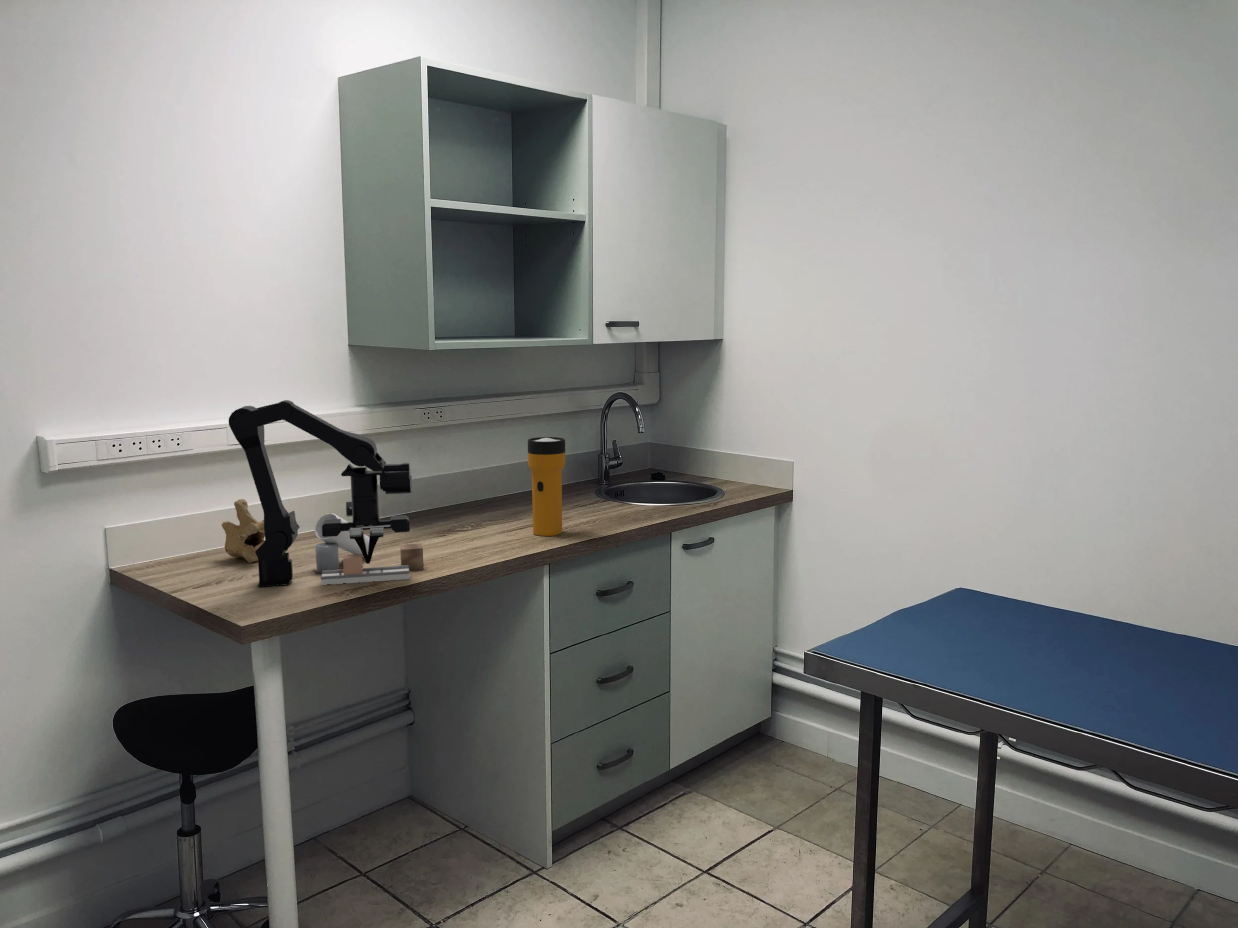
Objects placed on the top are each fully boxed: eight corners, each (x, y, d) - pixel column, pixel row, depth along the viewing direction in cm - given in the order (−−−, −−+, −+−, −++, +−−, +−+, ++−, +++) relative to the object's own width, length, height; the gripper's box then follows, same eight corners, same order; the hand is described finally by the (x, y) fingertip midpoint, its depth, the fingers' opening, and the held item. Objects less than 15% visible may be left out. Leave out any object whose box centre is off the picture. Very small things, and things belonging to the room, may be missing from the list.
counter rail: (321, 585, 213) (320, 577, 213) (322, 578, 219) (322, 570, 218) (409, 578, 218) (409, 571, 218) (408, 572, 223) (408, 564, 223)
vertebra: (252, 551, 243) (248, 492, 241) (280, 561, 234) (276, 500, 232) (218, 558, 237) (213, 497, 235) (245, 568, 228) (241, 505, 225)
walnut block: (401, 570, 225) (400, 549, 225) (401, 565, 230) (400, 544, 230) (423, 569, 227) (422, 548, 226) (422, 563, 231) (421, 543, 231)
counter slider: (344, 576, 215) (343, 558, 214) (344, 572, 219) (343, 554, 218) (362, 575, 216) (361, 557, 215) (362, 570, 220) (361, 553, 219)
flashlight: (571, 436, 261) (553, 441, 252) (573, 531, 265) (555, 538, 256) (539, 434, 265) (520, 439, 256) (541, 527, 269) (522, 535, 260)
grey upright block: (316, 573, 223) (314, 548, 222) (317, 568, 227) (316, 543, 227) (338, 572, 224) (337, 546, 223) (339, 566, 229) (338, 541, 228)
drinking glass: (376, 554, 236) (339, 534, 223) (352, 563, 238) (314, 543, 225) (374, 530, 239) (337, 508, 226) (351, 538, 241) (313, 517, 228)
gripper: (406, 486, 225) (409, 552, 228) (322, 490, 221) (326, 557, 223) (408, 495, 215) (411, 563, 217) (320, 499, 210) (324, 569, 213)
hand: (368, 563), depth 218 cm, fingers closed
